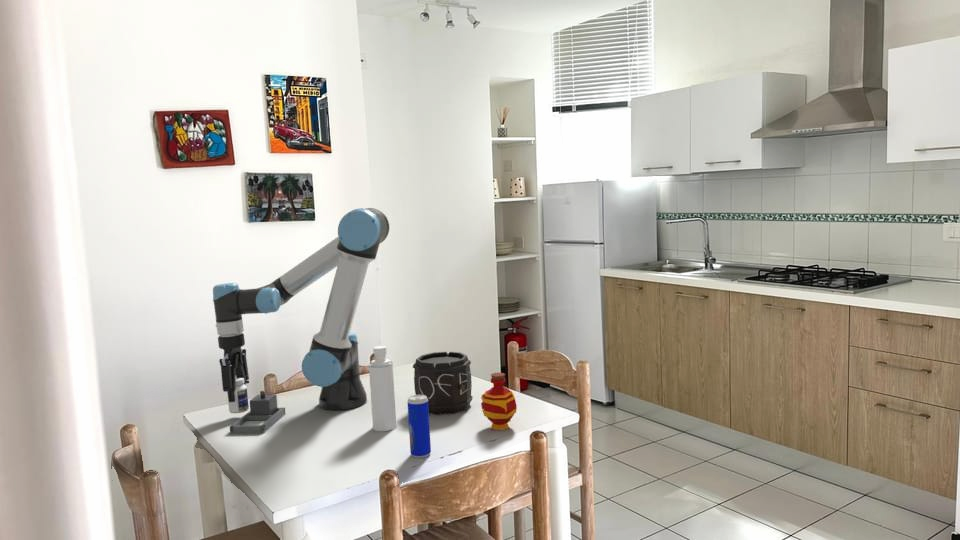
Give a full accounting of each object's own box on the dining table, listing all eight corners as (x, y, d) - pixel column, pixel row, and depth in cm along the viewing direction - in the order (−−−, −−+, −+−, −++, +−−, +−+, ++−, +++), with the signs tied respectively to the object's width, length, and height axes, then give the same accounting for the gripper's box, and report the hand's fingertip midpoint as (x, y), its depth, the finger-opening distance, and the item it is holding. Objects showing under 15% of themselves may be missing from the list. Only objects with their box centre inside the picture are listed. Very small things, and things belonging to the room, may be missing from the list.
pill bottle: (242, 414, 207) (239, 381, 206) (225, 414, 209) (222, 382, 208) (252, 407, 213) (249, 376, 212) (236, 408, 214) (232, 377, 213)
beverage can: (410, 451, 176) (407, 395, 175) (430, 450, 177) (427, 393, 175) (410, 459, 171) (407, 400, 170) (431, 457, 172) (427, 399, 170)
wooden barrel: (440, 420, 200) (437, 367, 198) (404, 408, 213) (401, 358, 212) (485, 405, 212) (483, 356, 210) (449, 395, 225) (447, 348, 223)
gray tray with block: (285, 414, 213) (283, 387, 212) (263, 433, 196) (261, 403, 195) (254, 414, 214) (252, 387, 213) (230, 433, 197) (227, 404, 196)
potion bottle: (522, 421, 195) (520, 370, 194) (512, 434, 186) (510, 380, 184) (487, 419, 199) (485, 369, 197) (476, 431, 189) (473, 378, 187)
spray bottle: (390, 432, 192) (385, 344, 189) (369, 430, 194) (363, 344, 191) (400, 424, 198) (395, 339, 196) (379, 423, 200) (373, 339, 197)
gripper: (232, 328, 218) (240, 399, 220) (204, 341, 199) (213, 418, 202) (255, 327, 217) (262, 398, 220) (228, 340, 199) (237, 417, 201)
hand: (239, 408), depth 211 cm, fingers closed on pill bottle, 6 cm apart
